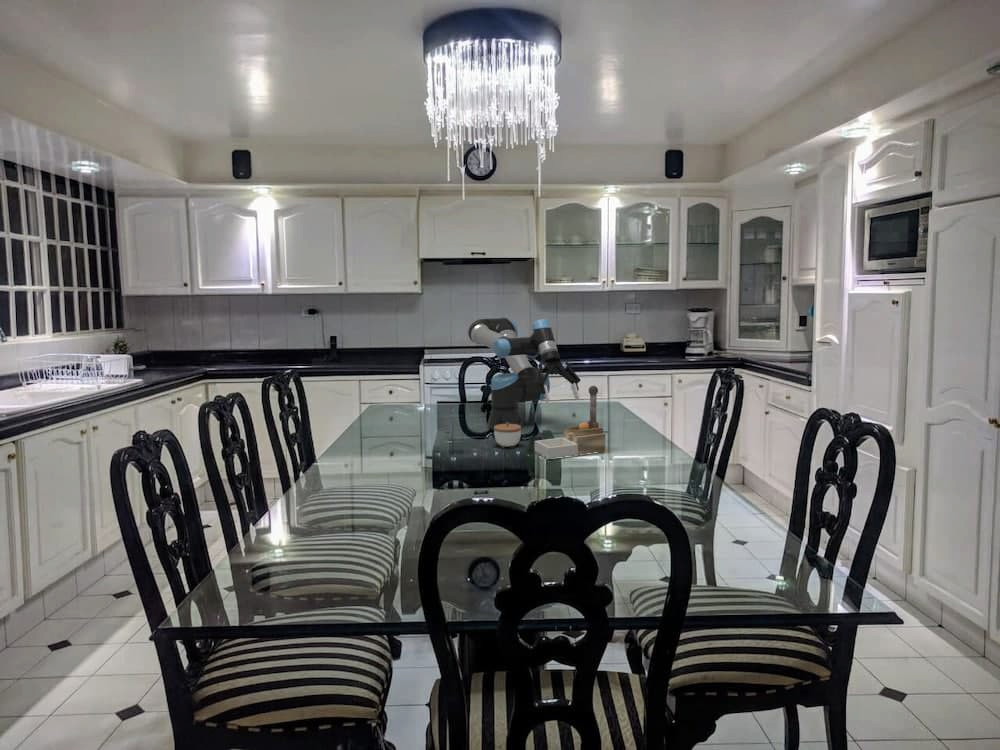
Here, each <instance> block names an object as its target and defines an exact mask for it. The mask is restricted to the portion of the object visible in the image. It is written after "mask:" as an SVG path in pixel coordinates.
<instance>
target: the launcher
mask: <svg viewBox="0 0 1000 750" xmlns="http://www.w3.org/2000/svg"><path fill="white" fill-rule="evenodd" d="M562 435H563V437H562V438H565V439H567V440H569V441H571V442H574V443H576V444H578V455H580V454H587V453H594V452H603V453H605V452H606V433H604V428H603V427H599V428H593V429H585V430H579V425H572V426H565V427H564V430H563V432H562ZM604 451H605V452H604ZM580 456H581V455H580Z"/></svg>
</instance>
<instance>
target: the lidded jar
mask: <svg viewBox="0 0 1000 750" xmlns="http://www.w3.org/2000/svg"><path fill="white" fill-rule="evenodd" d="M493 431H494V432H493V434H494V439H495V441H496V443H497V444H498V445H499V446H500V445H501V446H515V445H517V444H518V443H519V442H520V440H521V436H522V435H521V434H522V428H521V426H520V425H517V424H509V422H506V424H499V425H496V426H494V430H493ZM501 446H500V447H501ZM515 447H516V446H515Z"/></svg>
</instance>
